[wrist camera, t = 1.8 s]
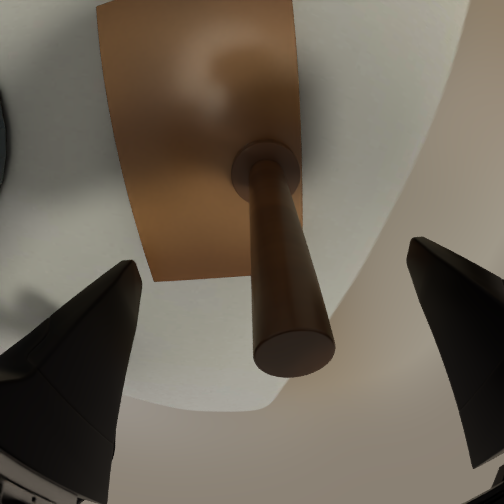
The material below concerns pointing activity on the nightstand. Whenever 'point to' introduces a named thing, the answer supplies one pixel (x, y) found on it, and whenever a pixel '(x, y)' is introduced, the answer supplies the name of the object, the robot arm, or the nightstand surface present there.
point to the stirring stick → (280, 265)
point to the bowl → (2, 145)
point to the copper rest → (197, 120)
